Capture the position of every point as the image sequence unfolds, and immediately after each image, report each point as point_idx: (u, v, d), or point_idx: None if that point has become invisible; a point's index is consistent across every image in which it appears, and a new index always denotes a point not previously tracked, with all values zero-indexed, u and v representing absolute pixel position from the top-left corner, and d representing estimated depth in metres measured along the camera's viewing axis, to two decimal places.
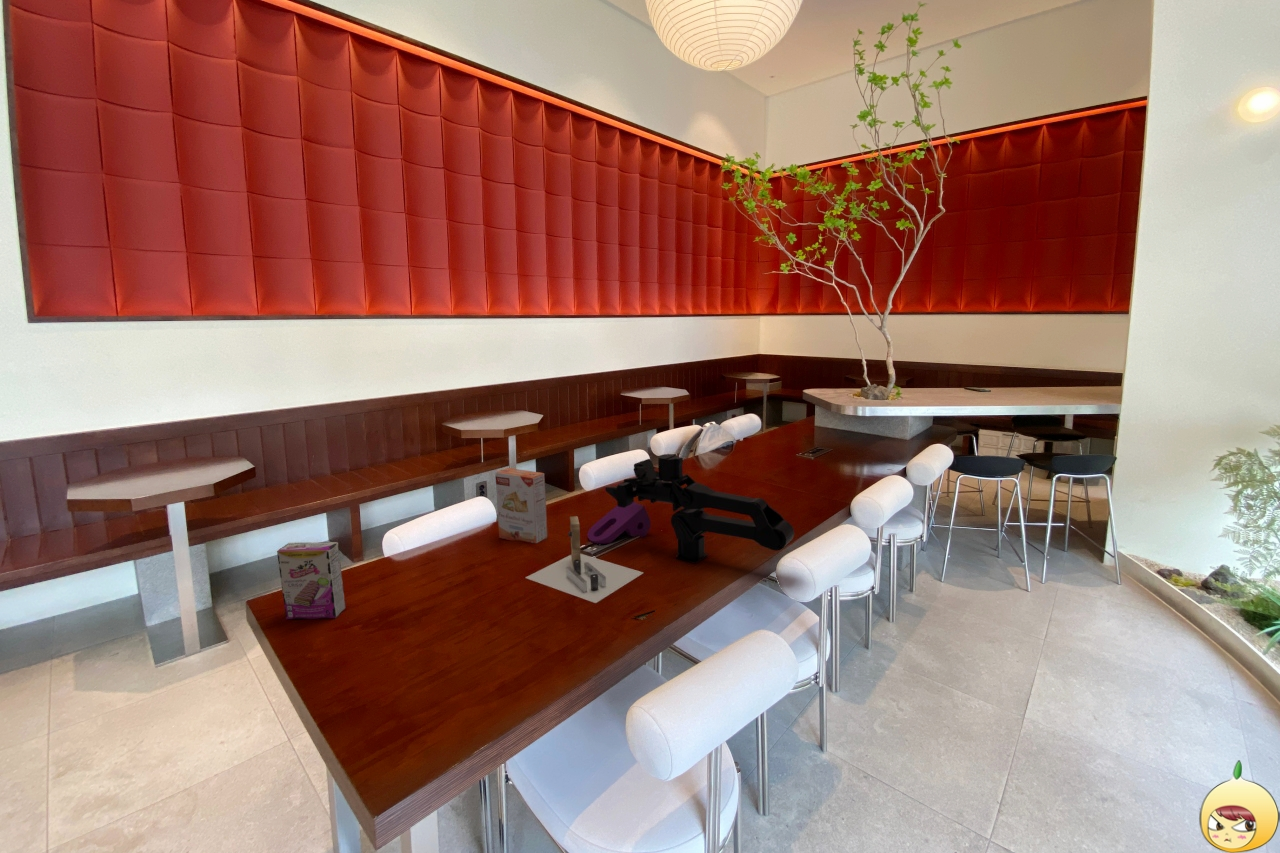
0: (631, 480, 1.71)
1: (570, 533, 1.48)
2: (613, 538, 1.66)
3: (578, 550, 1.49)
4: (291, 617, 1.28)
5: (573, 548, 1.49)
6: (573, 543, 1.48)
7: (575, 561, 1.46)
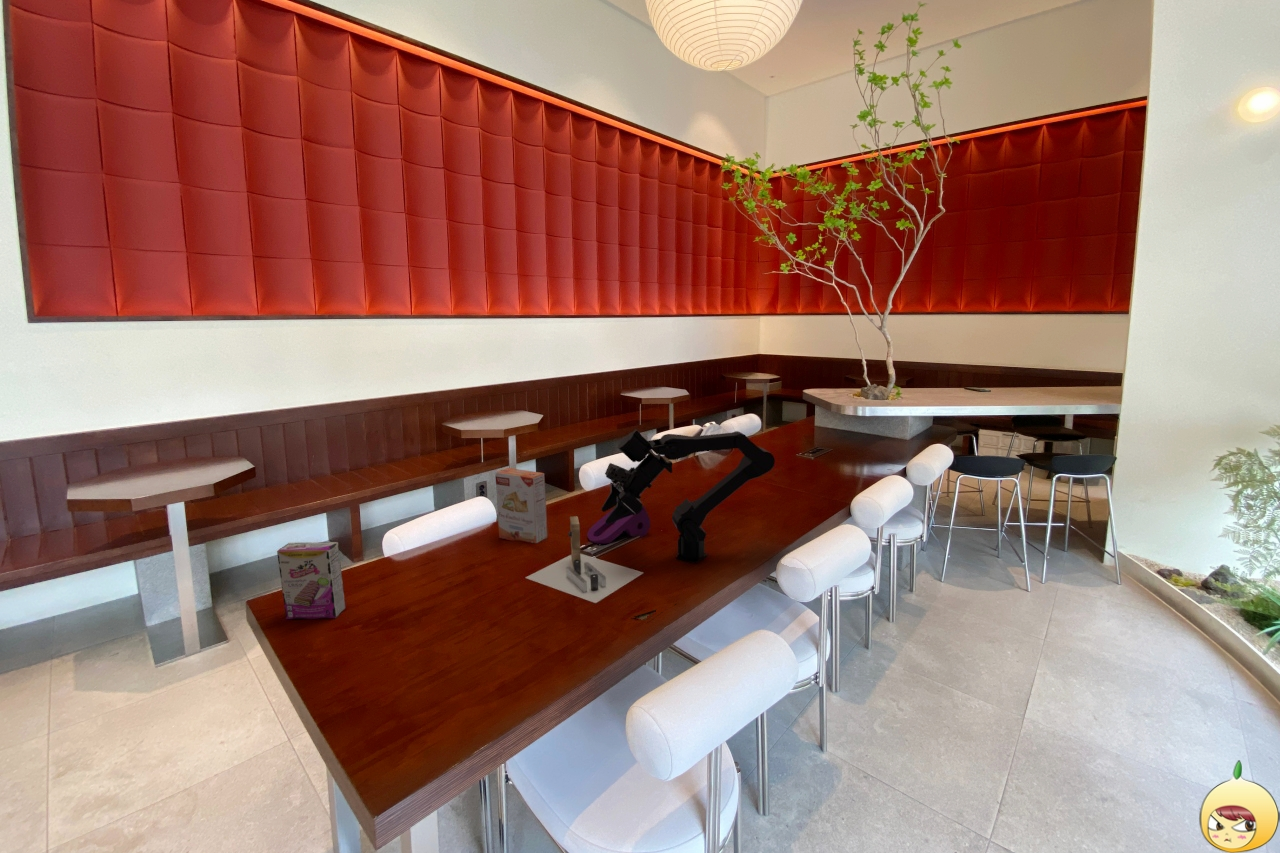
0: (607, 502, 1.56)
1: (570, 533, 1.48)
2: (612, 537, 1.66)
3: (578, 550, 1.49)
4: (291, 617, 1.28)
5: (573, 548, 1.49)
6: (573, 543, 1.48)
7: (575, 561, 1.46)
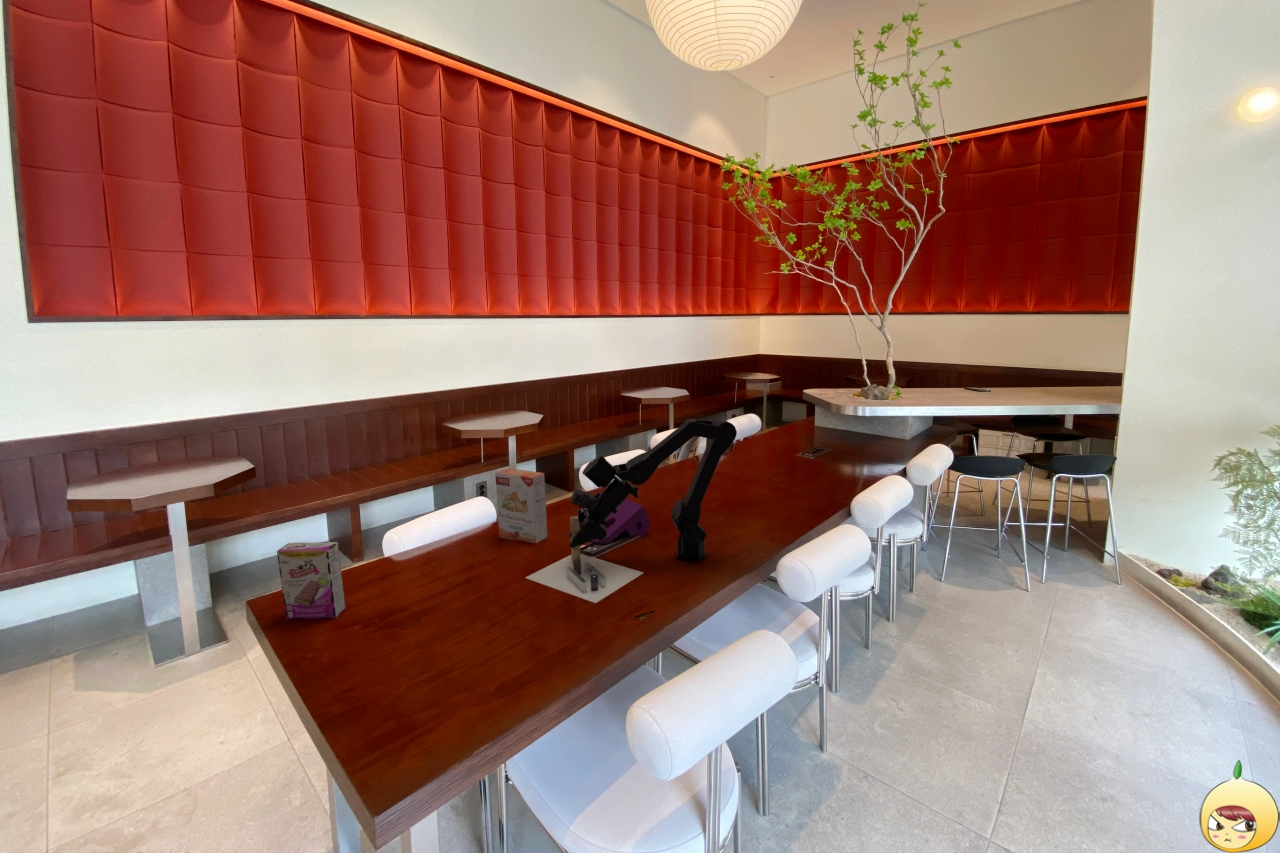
0: None
1: (570, 533, 1.48)
2: (612, 537, 1.66)
3: (578, 550, 1.49)
4: (291, 617, 1.28)
5: (573, 548, 1.49)
6: None
7: (575, 561, 1.46)
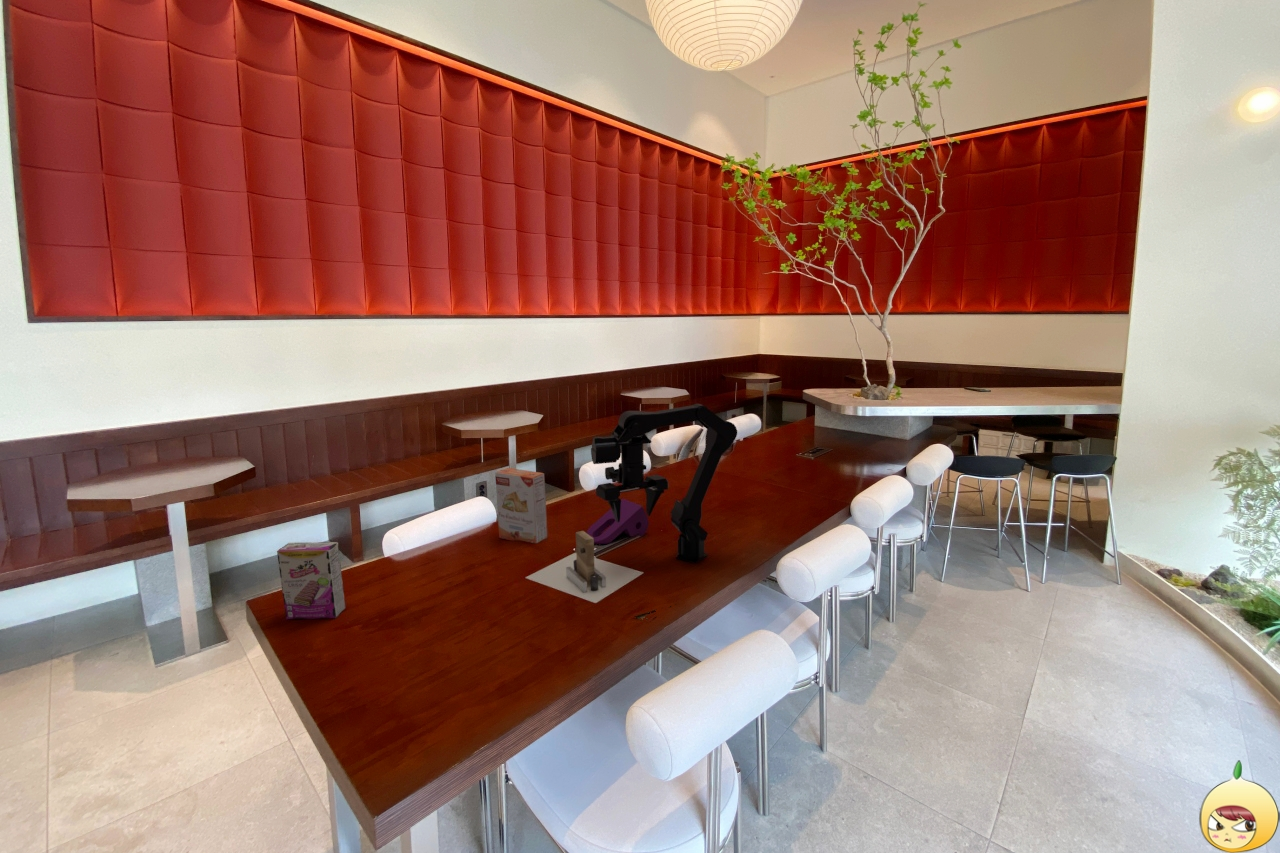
0: (647, 505, 1.53)
1: (583, 549, 1.38)
2: (612, 538, 1.66)
3: (592, 566, 1.39)
4: (291, 617, 1.28)
5: (587, 565, 1.38)
6: (587, 560, 1.38)
7: (575, 561, 1.46)
